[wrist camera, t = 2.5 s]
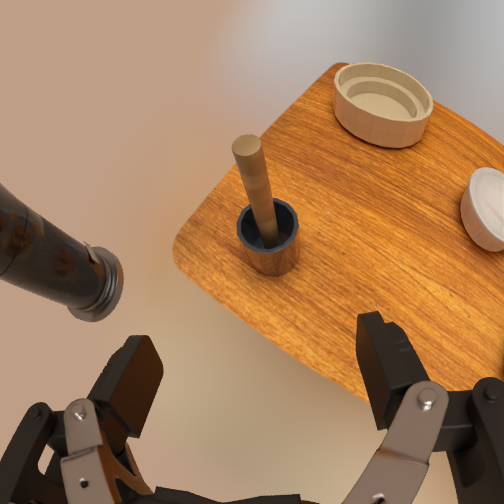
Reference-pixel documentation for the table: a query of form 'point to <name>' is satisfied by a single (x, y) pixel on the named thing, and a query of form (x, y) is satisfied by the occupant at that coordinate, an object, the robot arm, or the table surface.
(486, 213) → the ramekin
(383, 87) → the bowl
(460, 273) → the table surface
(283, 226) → the utensil pot
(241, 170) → the stick
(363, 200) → the table surface
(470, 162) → the table surface
